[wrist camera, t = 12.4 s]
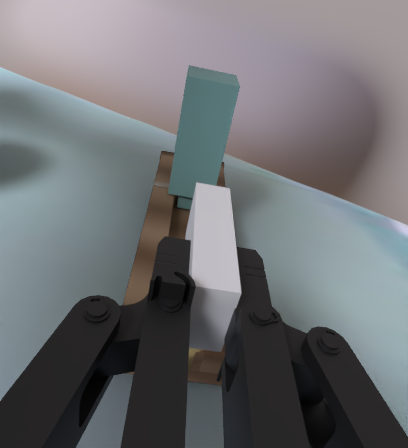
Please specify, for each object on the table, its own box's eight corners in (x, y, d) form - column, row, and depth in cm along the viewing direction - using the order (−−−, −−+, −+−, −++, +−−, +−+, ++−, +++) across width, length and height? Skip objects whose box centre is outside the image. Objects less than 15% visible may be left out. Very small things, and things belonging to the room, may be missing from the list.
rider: (208, 215, 34) (239, 86, 28) (165, 208, 34) (186, 75, 27) (208, 194, 37) (236, 75, 31) (169, 187, 37) (189, 65, 31)
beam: (224, 409, 22) (247, 350, 19) (105, 395, 22) (111, 331, 19) (215, 196, 44) (225, 153, 41) (156, 186, 44) (162, 142, 41)
